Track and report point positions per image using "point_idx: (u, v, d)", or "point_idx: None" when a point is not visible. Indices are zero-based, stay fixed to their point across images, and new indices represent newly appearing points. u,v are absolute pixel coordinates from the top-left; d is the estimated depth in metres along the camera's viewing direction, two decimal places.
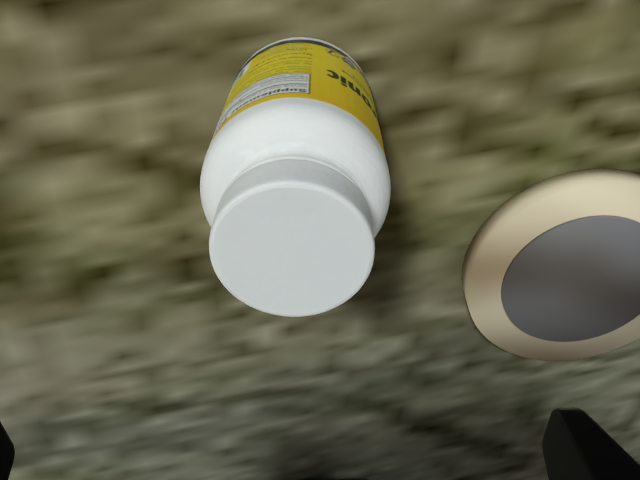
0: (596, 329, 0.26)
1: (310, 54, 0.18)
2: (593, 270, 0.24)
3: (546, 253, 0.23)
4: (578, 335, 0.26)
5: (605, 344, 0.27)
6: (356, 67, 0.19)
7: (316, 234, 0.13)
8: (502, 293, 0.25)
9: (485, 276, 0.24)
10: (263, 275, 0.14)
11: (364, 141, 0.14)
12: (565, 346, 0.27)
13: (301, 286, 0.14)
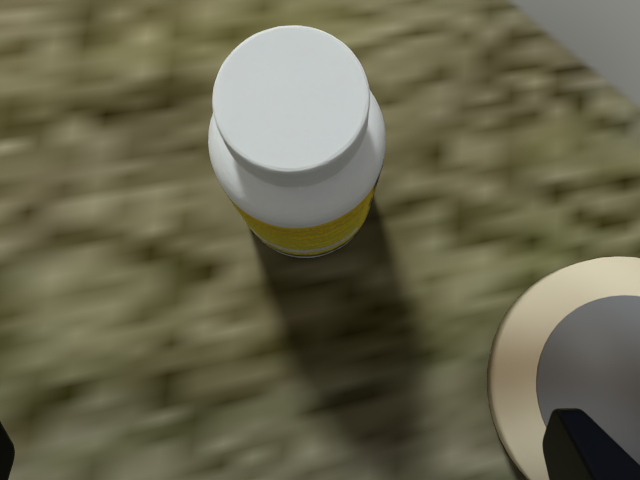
0: None
1: None
2: (638, 368, 0.21)
3: (575, 342, 0.21)
4: None
5: None
6: None
7: (314, 74, 0.14)
8: (540, 403, 0.20)
9: (514, 379, 0.21)
10: (260, 119, 0.14)
11: None
12: None
13: (298, 132, 0.14)
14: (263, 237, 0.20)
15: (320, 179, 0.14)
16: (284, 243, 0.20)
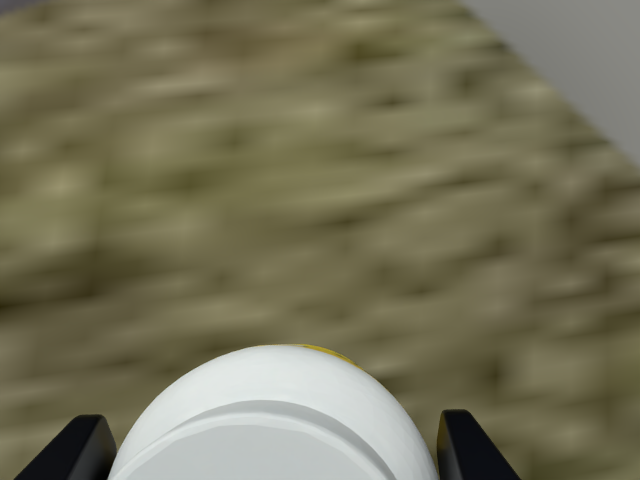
0: None
1: (309, 345, 0.13)
2: None
3: None
4: None
5: None
6: None
7: None
8: None
9: None
10: None
11: (391, 406, 0.09)
12: None
13: None
14: None
15: None
16: None
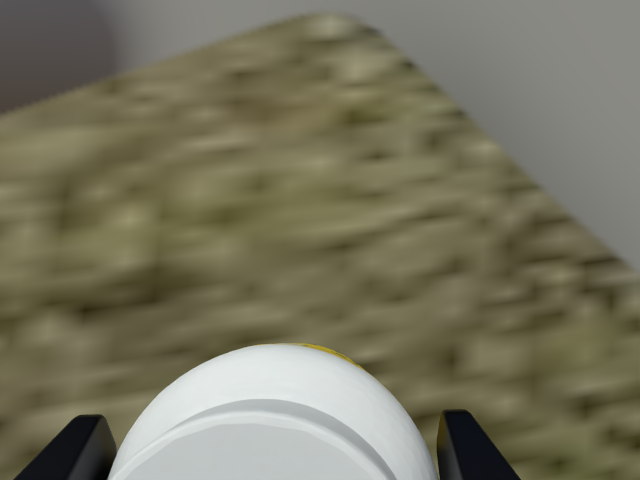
0: None
1: (309, 344, 0.13)
2: None
3: None
4: None
5: None
6: None
7: None
8: None
9: None
10: None
11: (391, 405, 0.09)
12: None
13: None
14: None
15: None
16: None
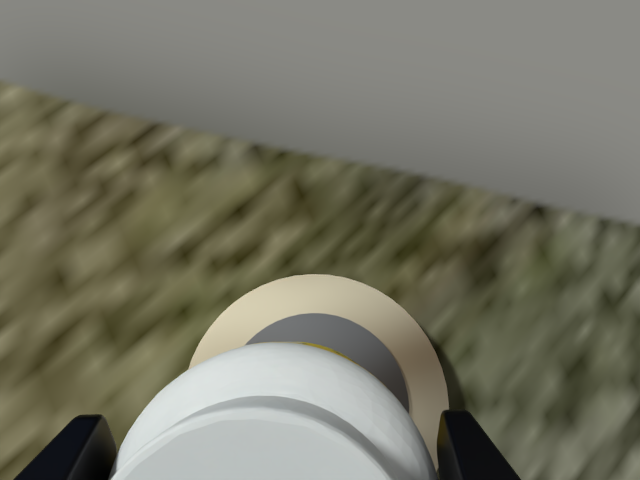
0: None
1: None
2: None
3: None
4: None
5: None
6: None
7: None
8: None
9: None
10: None
11: (390, 401, 0.09)
12: None
13: None
14: None
15: None
16: None
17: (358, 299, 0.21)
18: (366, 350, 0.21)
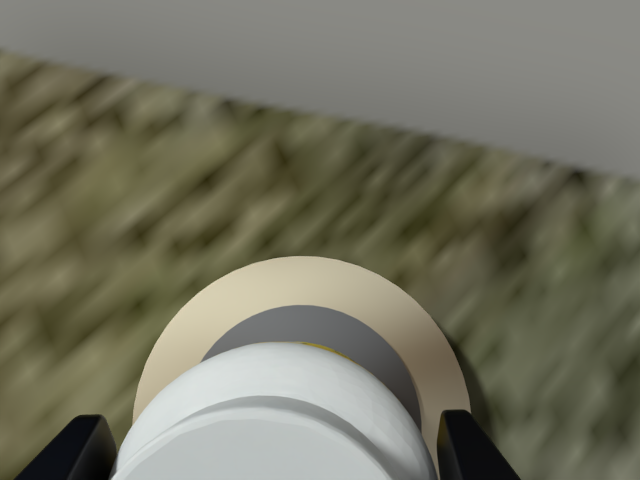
0: None
1: None
2: None
3: None
4: None
5: None
6: None
7: None
8: None
9: None
10: None
11: (390, 401, 0.09)
12: None
13: None
14: None
15: None
16: None
17: (355, 287, 0.17)
18: (366, 351, 0.16)
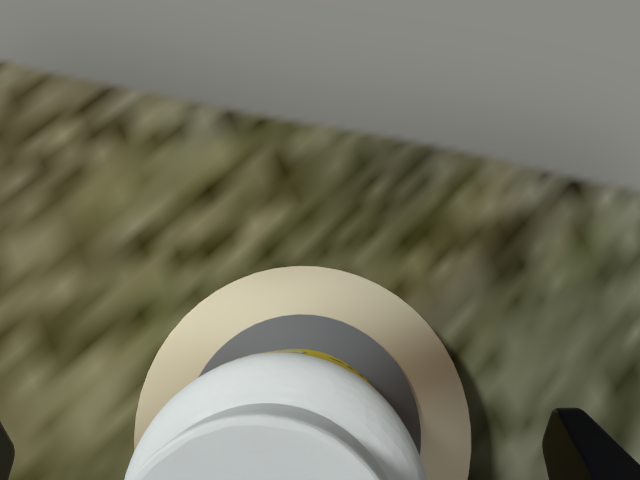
0: None
1: (308, 350, 0.14)
2: None
3: None
4: None
5: None
6: None
7: None
8: None
9: None
10: None
11: (382, 407, 0.09)
12: None
13: None
14: None
15: None
16: None
17: (355, 296, 0.17)
18: (366, 360, 0.17)
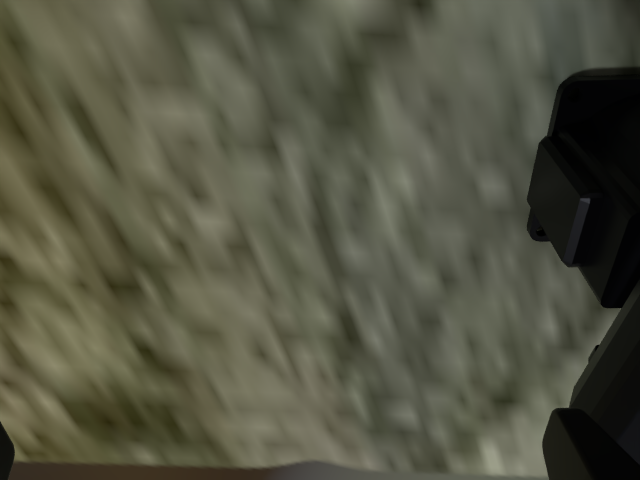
0: None
1: None
2: None
3: None
4: None
5: None
6: None
7: None
8: None
9: None
10: None
11: None
12: None
13: None
14: None
15: None
16: None
17: None
18: None
